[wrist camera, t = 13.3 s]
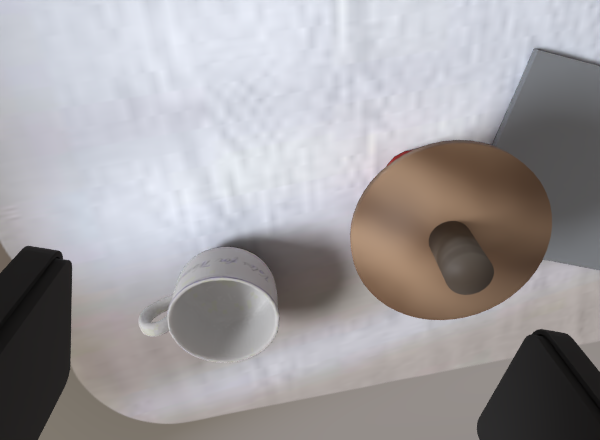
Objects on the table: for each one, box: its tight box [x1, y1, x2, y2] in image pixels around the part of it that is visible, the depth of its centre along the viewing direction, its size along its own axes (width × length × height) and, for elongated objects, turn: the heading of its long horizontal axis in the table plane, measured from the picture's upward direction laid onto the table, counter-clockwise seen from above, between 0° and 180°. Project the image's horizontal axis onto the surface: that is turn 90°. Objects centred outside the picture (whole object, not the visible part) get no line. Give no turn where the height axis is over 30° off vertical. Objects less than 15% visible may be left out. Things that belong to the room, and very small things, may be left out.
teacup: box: [139, 247, 280, 363], centre depth 49 cm, size 14×11×8 cm
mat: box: [492, 49, 600, 270], centre depth 48 cm, size 20×20×1 cm
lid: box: [350, 140, 552, 320], centre depth 34 cm, size 15×15×6 cm
